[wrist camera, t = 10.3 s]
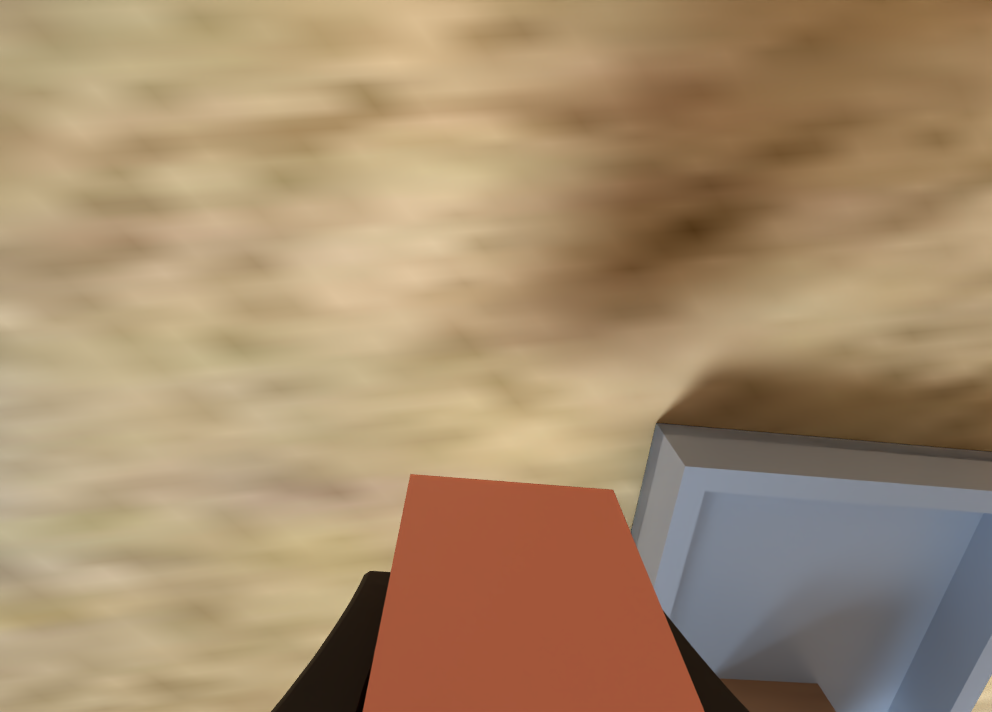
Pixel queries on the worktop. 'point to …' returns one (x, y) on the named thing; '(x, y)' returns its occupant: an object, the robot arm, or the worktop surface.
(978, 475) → the tray
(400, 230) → the worktop surface
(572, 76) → the worktop surface
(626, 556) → the brick-red block
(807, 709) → the walnut block
